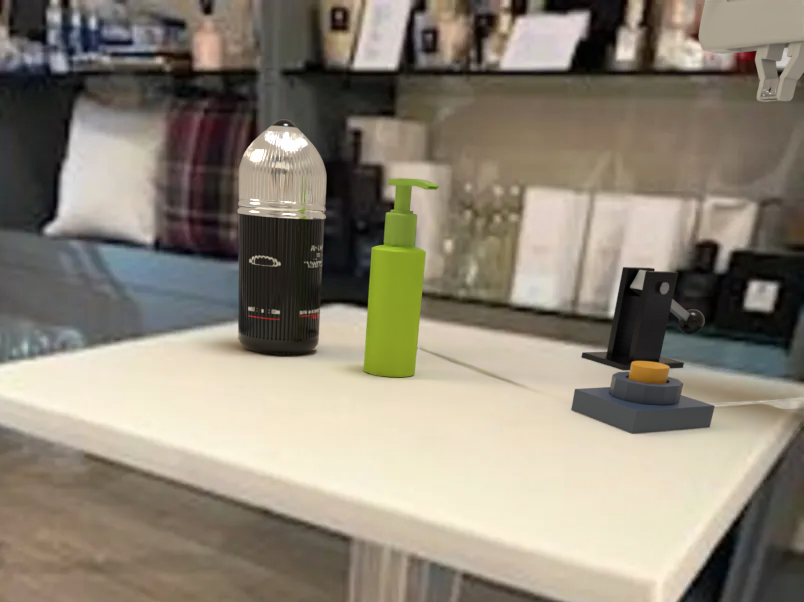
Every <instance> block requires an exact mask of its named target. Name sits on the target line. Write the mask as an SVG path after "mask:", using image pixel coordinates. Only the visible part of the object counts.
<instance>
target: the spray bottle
mask: <svg viewBox="0 0 804 602" xmlns="http://www.w3.org/2000/svg"><path fill="white" fill-rule="evenodd" d="M326 196H327V170H326V166H325V163H324V161H323V159H322V156H321V155H320V153H319V151H318V149H317V148H316V147H315V145H314V144H313V143H312V142H311V141H310V140H309V138H308V137H307V136H306V135H305V134H304V133H303V132H302V131H301V130H300V129H299V128H298V127H297V126H296V124H295V123H294V122H292V121H291V120H289V119H285V118H281V119H278V120H275V121H274V122H273V123H272V124H271V125H270V126H269V127H268V128H267V129H266V130H264V131H263V132H261V133H260V134H259V135H258V136H257V137H256V138H255V139H254V140H253V141H252V142H251V143H250V145H249V146H248V147H247V148H246V150H245V151H244V153H243V155H242V158H241V160H240V164H239V167H238V198H237V199H238V200H237V205H238V208H237V210H236V211H237V214H238V287H237V288H238V291H237V293H238V294H237V295H238V297H237V304H238V306H237V307H238V309H237V324H238V325H237V337H238V338H237V339H238V341H239V343H240V344H241V345H242V346H243V347H244V348H245V349H248V350H250V351H252V352H256V353H261V354H267V355H268V354H269V355H284V356H285V355H291V356H292V355H303V354H307V353H310V352H312V351H314V350H315V349H316V348H317V347H318V344H319V341H320V325H321V324H320V322H321V321H320V320H321V300H322V279H323V278H322V277H323V256H324V255H323V254H324V251H323V250H324V233H325V219H326V218H327V214H326V213H325V212H326V210H327V208H326V204H327V203H326V201H327V200H326V199H327V197H326Z"/></svg>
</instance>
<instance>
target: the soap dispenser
mask: <svg viewBox="0 0 804 602" xmlns="http://www.w3.org/2000/svg"><path fill="white" fill-rule="evenodd" d="M387 182H388V184H387V186H395V193H394V204H393V209H390V210H389V211H388V212H387V211H386V212H385V221H384V234H383V244H379V245H375V246H372V247H371V254H370V268H369V282H368V298H367V310H366V312H367V313H366V314H367V315H366V326H365V327H366V329H365V341H364V342H365V343H364V357H363V358H364V360H363V372H365V373H367V374H369V375H374V376H379V377H388V378H407V377H412V376H414V375H415V374H416V364H417V353H418V352H417V351H418V342H419V332H420V320H421V311H422V310H421V309H422V299H423V289H424V279H425V278H424V277H425V266H426V256H427V251H426V250H424V249H423V248H420V247H416V237H417V224H418V214H416V213H414V210H411V203H412V192H413V191H412V190H413V187H417V188H420V189H423V190H430V191H431V190H432V191H437V190H438V189H439V188H440V185H439V184H437V183H434V182H432V181H430V180H426V179H422V178H407V177H406V178H405V177H404V178H403V177H401V178H400V177H399V178H389V179H388V181H387Z"/></svg>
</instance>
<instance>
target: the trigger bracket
mask: <svg viewBox="0 0 804 602" xmlns="http://www.w3.org/2000/svg"><path fill="white" fill-rule="evenodd" d="M639 270H645V271H646V273H645V278H644V283H643V288H642V293H641V296H639V295H638V294H637V293H636V292H634V291H633V290H632V289H631V288H630V286H631V284H632V282H633V281H634V279H635V277H636V275H637V274H638V272H639ZM678 276H679V271H666V270H665V271H662V270H661V271H660V270H658V271H657V270H655V268H654V267H643V266H642V267H637V266H636V267H635V266H623V267H622V270H621V275H620V281H619V286H618V292H617V297H616V301H615V308H614V313H613V318H612V322H611V328H610V335H609V338H608V345H607V349H606V351H588V352H587V351H585V352H582V353H581V359H585V360H588V361H592V362H595V363H598V364H601V365H605V366H608V367H611V368H614V369H617V370H621V371H630V367H631V363H632V362H634V361H650V362H657V363H662V364H665V365H668V366H669V367H670V369H683V368H684V365H685V362H684V361H683V362H682V361H679V360H676V359H672V358H668V357H665V356H661V355H662V350H663V346H664V341H665V336H666V332H667V326H668V322H669V317H670V313H671V312H670V309H671V304H672V299H673V300H674V295H675V290H676V285H677V280H678Z"/></svg>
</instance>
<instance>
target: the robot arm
mask: <svg viewBox="0 0 804 602" xmlns="http://www.w3.org/2000/svg"><path fill="white" fill-rule="evenodd" d="M698 41H699V44H700V48H701V50H702V51H704V52H708V53H712V54H713V53H714V54H720V55H721V54H722V55H726V54H727V55H728V54H736V53H746V52H748V53H749V52H755V57H754V63H755V67H756V70H757V75H758V80H759V83H758V88H757V93H756V100H757V101H758V102H765V103H766V102H767V103H769V102H771V103H772V102H790V101H792V99H793V98H794V95H795V92H796V91H795V90H796V86H797V83H798V80H800V78H801V77H802V76H803V74H804V0H704V4H703V9H702V14H701V17H700V24H699V29H698ZM785 49H787V51H786V57H787V58H790V59H789V60H788V62H787V63H786V66H785V67H784V69H783V71H781V74H780V76H779V75H778V67H777V62H781V61H782V59H783V55H784V51H785Z"/></svg>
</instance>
